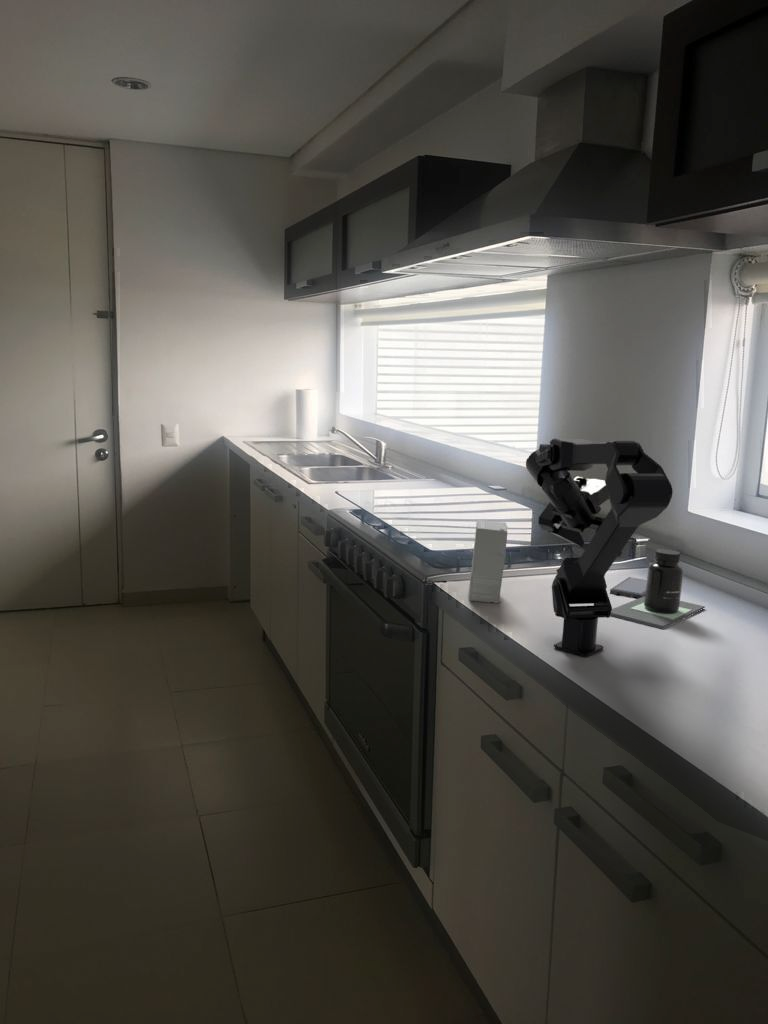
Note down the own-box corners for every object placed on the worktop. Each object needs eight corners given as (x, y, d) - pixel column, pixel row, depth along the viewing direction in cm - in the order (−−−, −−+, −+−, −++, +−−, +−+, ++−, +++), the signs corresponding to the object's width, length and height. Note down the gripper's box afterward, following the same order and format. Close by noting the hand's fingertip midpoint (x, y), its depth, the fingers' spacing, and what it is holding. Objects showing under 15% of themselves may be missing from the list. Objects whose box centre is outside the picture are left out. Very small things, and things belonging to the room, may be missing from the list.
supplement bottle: (672, 616, 170) (678, 557, 167) (638, 609, 174) (644, 551, 171) (683, 609, 175) (690, 552, 173) (650, 602, 179) (656, 546, 177)
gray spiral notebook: (662, 628, 164) (663, 624, 164) (605, 614, 172) (606, 609, 172) (704, 609, 179) (704, 604, 178) (650, 596, 187) (650, 592, 186)
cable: (654, 604, 181) (654, 601, 181) (614, 594, 187) (614, 591, 187) (669, 598, 186) (669, 594, 186) (630, 589, 192) (630, 585, 192)
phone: (641, 598, 184) (642, 594, 184) (609, 593, 188) (610, 589, 188) (659, 585, 196) (659, 581, 196) (628, 580, 200) (629, 576, 200)
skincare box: (468, 590, 185) (473, 518, 182) (501, 593, 184) (507, 520, 181) (468, 601, 177) (473, 526, 174) (503, 604, 176) (508, 528, 173)
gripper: (630, 472, 154) (662, 528, 162) (553, 459, 168) (585, 510, 177) (597, 519, 150) (631, 573, 159) (521, 501, 165) (556, 551, 174)
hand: (600, 550), depth 167 cm, fingers open, 9 cm apart
